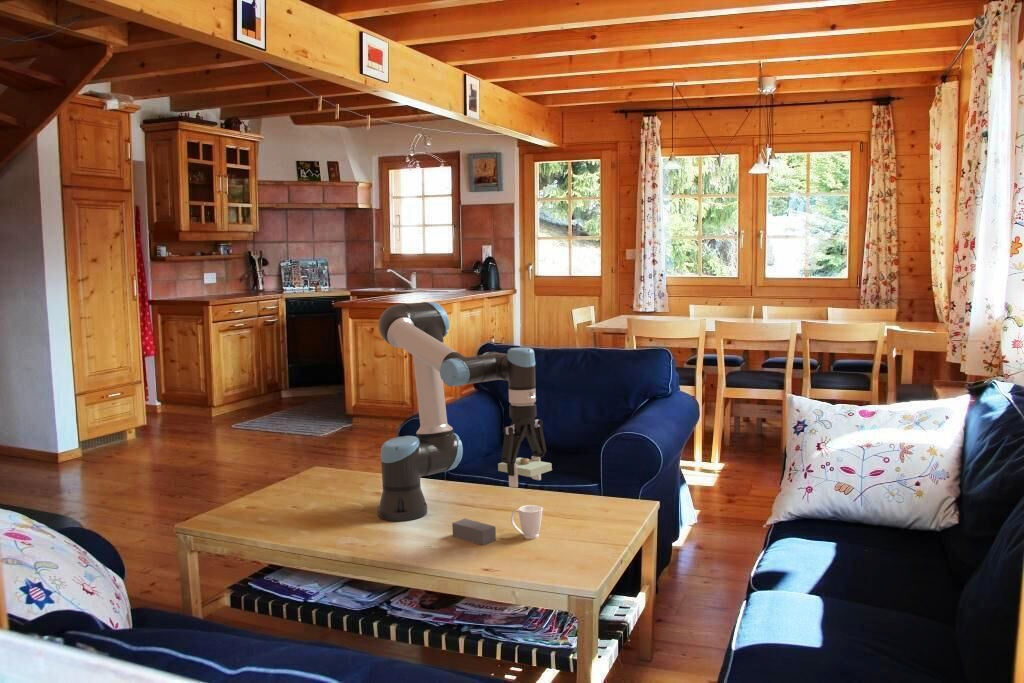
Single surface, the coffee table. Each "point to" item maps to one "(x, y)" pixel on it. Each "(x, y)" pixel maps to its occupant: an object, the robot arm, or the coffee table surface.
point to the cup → (529, 520)
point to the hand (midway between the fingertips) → (525, 482)
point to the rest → (474, 531)
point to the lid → (528, 467)
